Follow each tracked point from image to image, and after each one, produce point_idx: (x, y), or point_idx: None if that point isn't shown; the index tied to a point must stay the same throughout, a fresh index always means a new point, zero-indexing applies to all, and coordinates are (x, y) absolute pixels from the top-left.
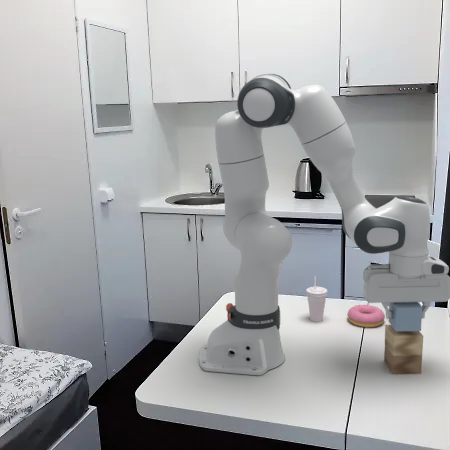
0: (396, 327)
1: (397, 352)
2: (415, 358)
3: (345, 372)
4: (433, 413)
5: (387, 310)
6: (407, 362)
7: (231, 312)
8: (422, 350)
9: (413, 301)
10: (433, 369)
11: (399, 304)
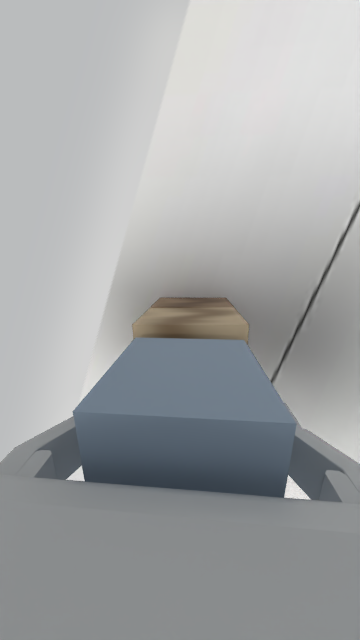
0: (245, 347)
1: (222, 309)
2: (169, 305)
3: (333, 310)
4: (189, 105)
5: (317, 441)
6: (191, 303)
7: None
8: (146, 311)
9: (124, 489)
10: (128, 315)
11: (239, 482)
